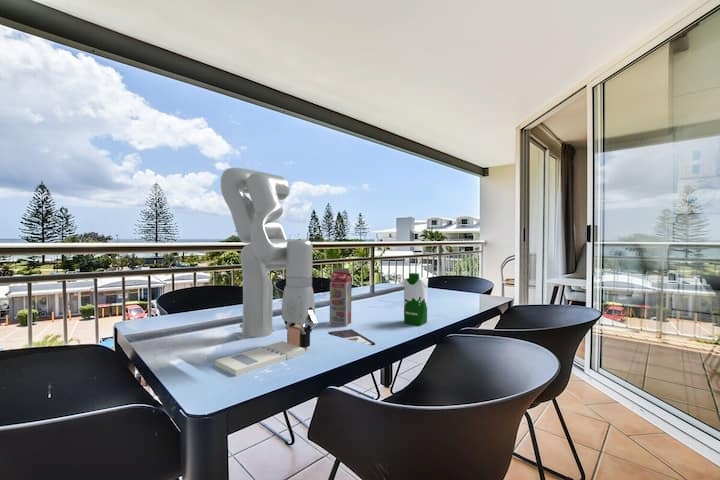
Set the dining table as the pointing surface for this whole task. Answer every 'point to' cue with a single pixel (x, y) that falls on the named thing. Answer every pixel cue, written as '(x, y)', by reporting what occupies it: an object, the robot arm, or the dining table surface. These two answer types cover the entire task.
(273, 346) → the stub
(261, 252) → the robot arm
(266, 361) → the cream flat block
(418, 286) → the milk carton
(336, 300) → the juice carton
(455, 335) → the dining table surface
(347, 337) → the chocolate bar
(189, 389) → the dining table surface
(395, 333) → the dining table surface
